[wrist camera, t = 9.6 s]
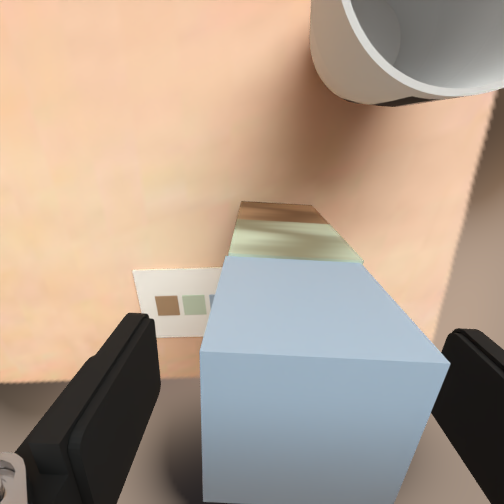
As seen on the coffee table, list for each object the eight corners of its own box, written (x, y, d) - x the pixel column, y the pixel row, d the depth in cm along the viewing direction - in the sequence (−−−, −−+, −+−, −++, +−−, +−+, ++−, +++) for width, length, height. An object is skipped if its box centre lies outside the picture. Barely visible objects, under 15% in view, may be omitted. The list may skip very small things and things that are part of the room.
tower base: (238, 265, 21) (225, 359, 12) (241, 201, 19) (228, 253, 10) (302, 269, 21) (340, 365, 12) (311, 205, 19) (363, 260, 10)
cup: (319, 146, 18) (389, 147, 9) (264, 10, 15) (278, -201, 6) (444, 80, 16) (689, -6, 7) (406, -83, 14) (712, -547, 5)
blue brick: (225, 255, 10) (199, 351, 5) (360, 262, 10) (450, 363, 5) (223, 361, 12) (202, 501, 7) (337, 367, 12) (391, 510, 7)
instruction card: (147, 336, 24) (146, 338, 23) (133, 269, 21) (131, 271, 21) (251, 333, 23) (251, 336, 23) (248, 266, 21) (247, 267, 21)
